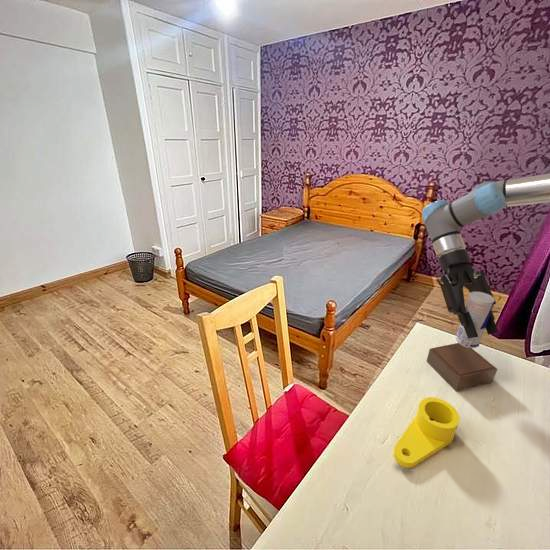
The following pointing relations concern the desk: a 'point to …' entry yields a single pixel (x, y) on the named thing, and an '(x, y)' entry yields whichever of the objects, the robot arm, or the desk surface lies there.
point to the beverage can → (476, 317)
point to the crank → (427, 432)
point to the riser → (461, 366)
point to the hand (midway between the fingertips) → (483, 335)
